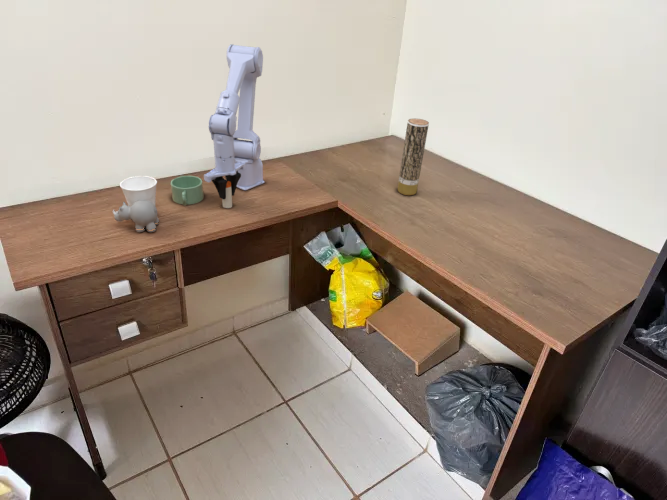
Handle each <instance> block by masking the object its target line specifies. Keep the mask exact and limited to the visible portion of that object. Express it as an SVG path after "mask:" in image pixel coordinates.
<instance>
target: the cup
mask: <svg viewBox="0 0 667 500" xmlns="http://www.w3.org/2000/svg"><path fill="white" fill-rule="evenodd" d="M157 184H158V180H157V179H156V178H154V177H152V176H149V175H134V176H130V177H129V176H128V177H126V178H124V179H123V180H121V181H120V182H119V187H120V188H121V190H122V194H123V195H124V198H125V201H126V204H127V206H130V207H131V206H132V205H133V204H134V203H135V202H137V201H139V200H147V201H150V202H151V203H153V204H154V205H155V206H156V197H157Z"/></svg>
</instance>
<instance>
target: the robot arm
mask: <svg viewBox="0 0 667 500" xmlns="http://www.w3.org/2000/svg"><path fill="white" fill-rule="evenodd" d="M226 63H227V67H228V69H229V70H228V76H227V81H226V87H225V90H222V91H220V95H219V98H218V101H217V104H216V108H215V110H214V111H215V112H214V113H213V114H211V115H210V117H209V120H208V131H209V133H210V138H211V140H212V141H213V154H214V168H212V169H211V170H210V171H208V172H207V173H204V174H203V180H204V182H206V183H211V182H212V183H213V185H214V187H215V188H216V189H215V190H216V191H217V194H218V197H219V198H220V199H226V185H227V182H228V181H230V182H231V189H232V197H234V196H235V195H236V189H237V188H238V189H240V190H243V191H248V190H250V189H253V188H255V187H258V186H260V185H263V184H265V180H264V164H263V162H262V160H261V158H260V157H261V152H262V146H261V138H260V136H259V135H258V134H257V133H256V132H255V131H254V130H253V127H254V114H255V101H256V100H255V99H256V87H257V86H256V85H257V80H258V79H257V78H259V77H261V76H262V73H263V68H264V67H263V64H264V54H263V50H262V48H261V47H260V46H247V45H237V44H234V43H232V44H229V45H228V46H227V49H226ZM237 112H238V114H237ZM237 115H238V116H237Z"/></svg>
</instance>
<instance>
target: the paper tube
mask: <svg viewBox="0 0 667 500" xmlns="http://www.w3.org/2000/svg"><path fill="white" fill-rule="evenodd" d="M429 125H430V122H429V120H426V119H423V118H409V119H408V120H407V124H406V131H405V137H404V144H403V150H402V157H401V163H400V170H399V176H398V183H397V192H398V193H399V194H401V195H404V196H414V195H415V194H417V192H418V187H419V182H420V176H421V171H422V165H423V160H424V154H425V148H426V142H427V137H428V132H429Z"/></svg>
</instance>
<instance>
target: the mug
mask: <svg viewBox="0 0 667 500" xmlns="http://www.w3.org/2000/svg"><path fill="white" fill-rule="evenodd" d="M170 191H171V197H172V201H173V202H174V203H176V204H179V205H183V206H186V205H195V204H198V203H200V202H202V201H203V200H204V198H205V197H204V196H205V195H204V183H203V180H202V178H200V177H199V176H195V175H180V176H176V177H174V178H173V179H171V181H170Z"/></svg>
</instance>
